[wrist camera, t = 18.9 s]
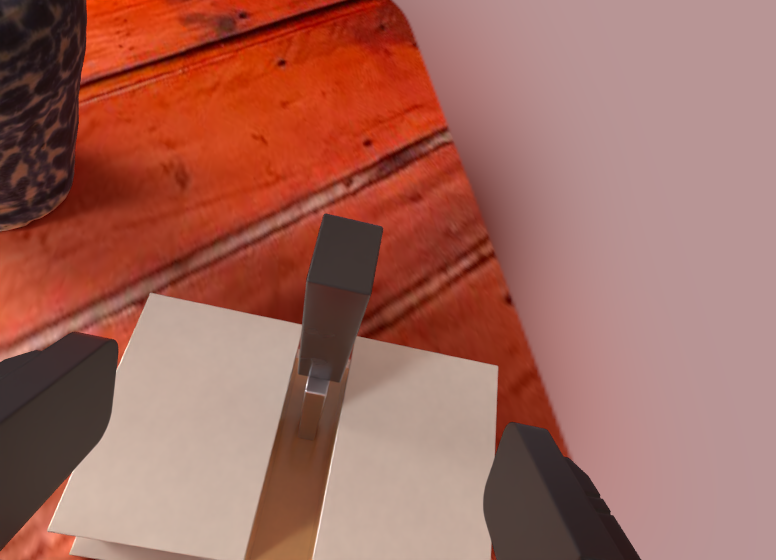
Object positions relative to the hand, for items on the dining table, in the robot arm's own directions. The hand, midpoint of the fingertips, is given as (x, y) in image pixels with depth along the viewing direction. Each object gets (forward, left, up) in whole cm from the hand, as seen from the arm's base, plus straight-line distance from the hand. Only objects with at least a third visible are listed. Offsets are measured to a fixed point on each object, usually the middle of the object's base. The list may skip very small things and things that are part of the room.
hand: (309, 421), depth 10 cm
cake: (0, -3, -24) cm, 24 cm away
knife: (0, -6, -22) cm, 23 cm away
